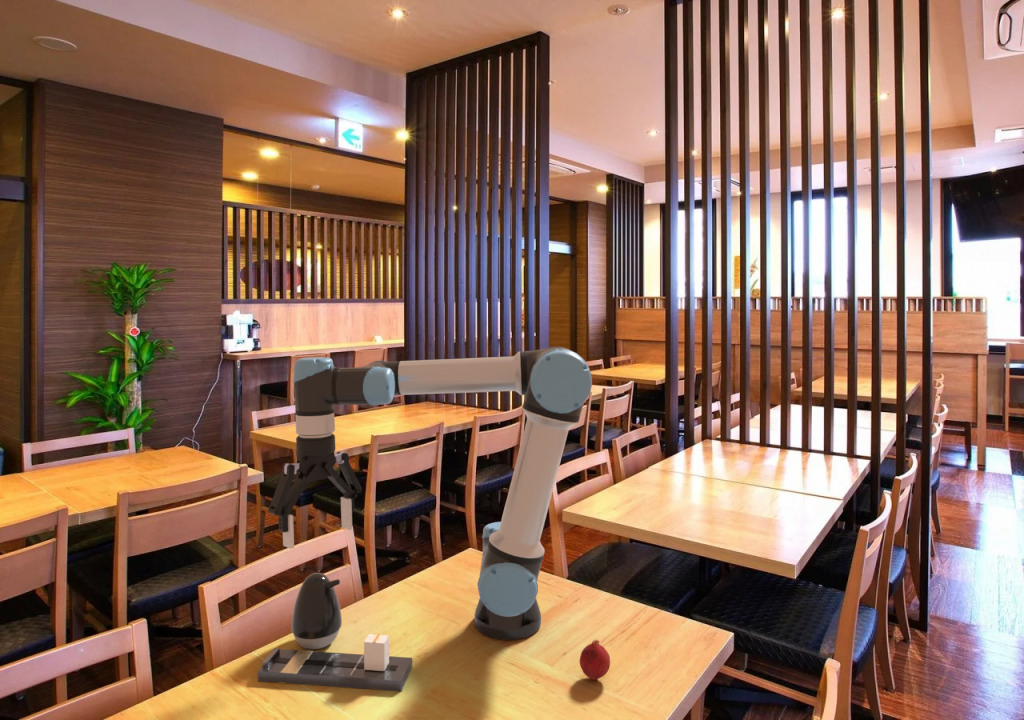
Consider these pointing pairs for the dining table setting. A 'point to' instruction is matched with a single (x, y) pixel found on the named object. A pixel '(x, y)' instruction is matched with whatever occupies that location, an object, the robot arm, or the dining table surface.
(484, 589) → the robot arm
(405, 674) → the console
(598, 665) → the onion
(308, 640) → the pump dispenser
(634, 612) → the dining table surface
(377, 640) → the fader knob
